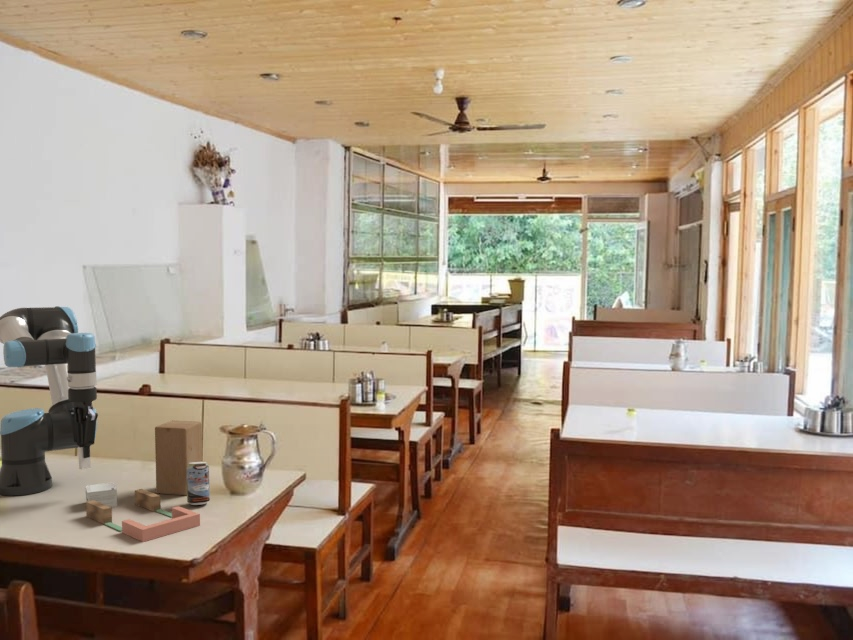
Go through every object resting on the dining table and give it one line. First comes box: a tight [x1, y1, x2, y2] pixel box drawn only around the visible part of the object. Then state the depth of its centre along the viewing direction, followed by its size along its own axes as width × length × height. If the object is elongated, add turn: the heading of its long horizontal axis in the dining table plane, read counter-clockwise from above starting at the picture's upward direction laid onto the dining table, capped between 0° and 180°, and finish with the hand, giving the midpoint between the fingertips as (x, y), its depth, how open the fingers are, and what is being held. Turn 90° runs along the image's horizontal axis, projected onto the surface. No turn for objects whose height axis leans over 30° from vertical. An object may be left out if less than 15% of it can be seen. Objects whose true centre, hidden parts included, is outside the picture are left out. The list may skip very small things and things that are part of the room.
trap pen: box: [121, 506, 201, 543], centre depth 201 cm, size 10×16×3 cm, turn 139°
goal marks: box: [105, 508, 172, 533], centre depth 208 cm, size 8×16×1 cm, turn 139°
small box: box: [84, 482, 118, 508], centre depth 222 cm, size 8×8×5 cm
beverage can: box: [186, 461, 211, 506], centre depth 222 cm, size 6×7×12 cm
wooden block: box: [154, 419, 203, 496], centre depth 235 cm, size 10×10×20 cm
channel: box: [85, 488, 162, 526], centre depth 214 cm, size 10×16×4 cm, turn 139°
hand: (84, 468), depth 227 cm, fingers closed
